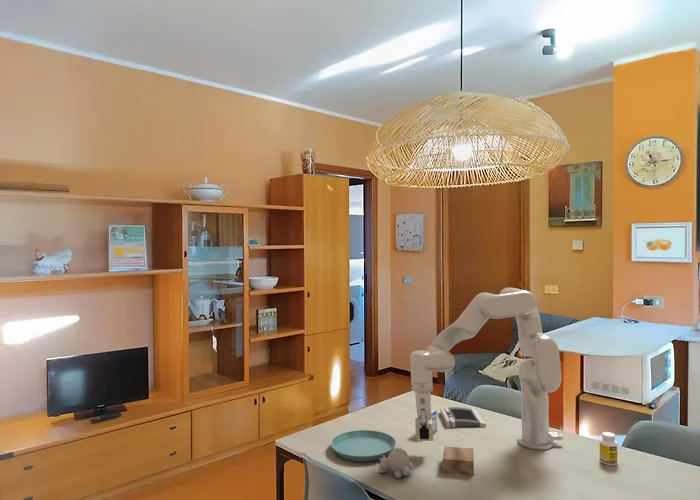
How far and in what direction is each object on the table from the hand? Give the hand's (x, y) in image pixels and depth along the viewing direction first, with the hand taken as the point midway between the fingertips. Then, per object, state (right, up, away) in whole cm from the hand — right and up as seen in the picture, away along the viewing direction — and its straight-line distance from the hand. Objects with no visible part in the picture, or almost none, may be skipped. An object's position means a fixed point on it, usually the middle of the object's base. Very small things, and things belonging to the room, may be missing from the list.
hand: (424, 434), depth 179 cm
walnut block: (+10, -8, -9) cm, 16 cm away
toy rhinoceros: (-12, -9, -13) cm, 20 cm away
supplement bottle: (+62, -6, -9) cm, 63 cm away
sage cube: (0, -1, 0) cm, 1 cm away
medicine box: (+4, -7, +20) cm, 21 cm away
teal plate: (-22, -8, +6) cm, 24 cm away
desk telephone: (+21, -7, +33) cm, 40 cm away
